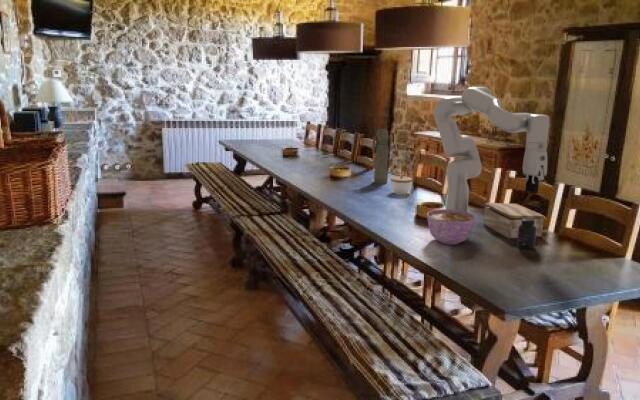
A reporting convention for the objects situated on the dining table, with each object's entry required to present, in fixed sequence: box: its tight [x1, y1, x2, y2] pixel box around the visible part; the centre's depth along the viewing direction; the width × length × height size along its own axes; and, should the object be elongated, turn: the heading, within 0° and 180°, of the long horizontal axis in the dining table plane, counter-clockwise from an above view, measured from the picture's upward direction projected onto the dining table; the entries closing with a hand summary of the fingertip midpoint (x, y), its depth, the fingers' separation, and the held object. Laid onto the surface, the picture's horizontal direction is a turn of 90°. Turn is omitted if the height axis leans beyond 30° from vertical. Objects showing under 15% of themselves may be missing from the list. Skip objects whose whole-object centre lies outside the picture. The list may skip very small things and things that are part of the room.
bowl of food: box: [426, 208, 477, 245], centre depth 212 cm, size 20×20×12 cm
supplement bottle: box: [516, 218, 537, 250], centre depth 205 cm, size 7×7×12 cm
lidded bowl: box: [390, 174, 413, 196], centre depth 300 cm, size 13×13×11 cm
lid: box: [484, 202, 545, 219], centre depth 227 cm, size 16×22×1 cm
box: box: [483, 207, 544, 239], centre depth 229 cm, size 16×22×8 cm
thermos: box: [372, 128, 392, 185], centre depth 327 cm, size 9×12×35 cm
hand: (531, 191), depth 201 cm, fingers closed
